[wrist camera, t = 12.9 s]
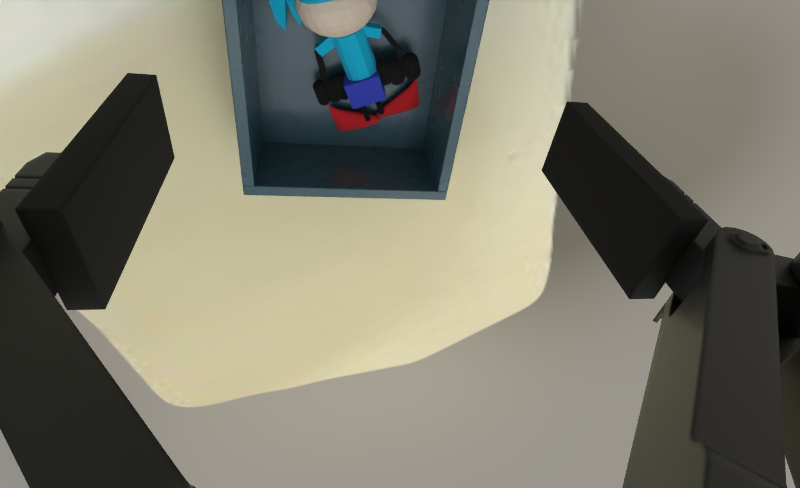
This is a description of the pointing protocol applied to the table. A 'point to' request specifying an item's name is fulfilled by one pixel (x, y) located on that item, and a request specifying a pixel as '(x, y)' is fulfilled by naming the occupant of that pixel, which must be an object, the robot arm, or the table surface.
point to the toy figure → (353, 59)
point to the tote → (313, 123)
